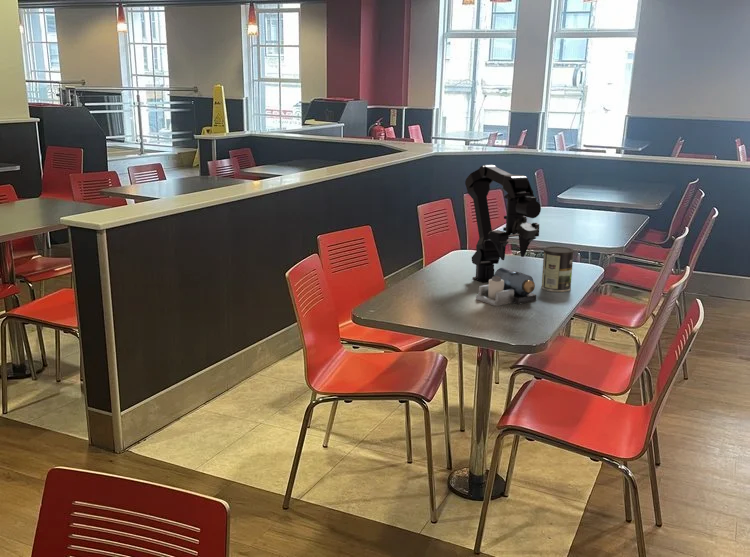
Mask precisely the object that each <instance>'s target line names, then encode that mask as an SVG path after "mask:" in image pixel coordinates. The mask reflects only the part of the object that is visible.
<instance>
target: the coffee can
mask: <svg viewBox="0 0 750 557" xmlns="http://www.w3.org/2000/svg"><path fill="white" fill-rule="evenodd" d="M574 253H575V250H574V249H572V248H570V247H565V246H546V247H544V248H543V257H542V258H543V260H542V276H541V289H542V290H544V291H548V292H553V293H564V292H565V293H566V292H569V291H571V289H572V288H571V287H572V276H573V274H572V273H573V262H574Z"/></svg>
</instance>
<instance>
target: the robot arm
mask: <svg viewBox="0 0 750 557" xmlns="http://www.w3.org/2000/svg"><path fill="white" fill-rule="evenodd" d="M464 182H465V183H464V184H465V187H466V191H467V194H468V195H469V196H470V197H471V199H472V200H473V207H474V213H475V219H476V226H477V231H478V241H477V244H476V247H475V249H476V250H475V252H474V253H473V255H472V256H471V262H472V264H473V265H476V266H475V276H473V277H472V278H471V279H472V280H476V281H478V282H481V283H489V279H492V277H494V274H495V264H496V265H499V262H500V260H501V261H505V259H506V251H507V250H506V249H507V247H506V246H507V245H508V244H509V241H508V240H509V238H513V237H518V243H519V245H518V246H519V253H520V257H522V258H524V257H525V256H526V252H527V250H528V248H529V246H530V244H531V242H533V240H536V239H537V237H540V223H539V222H537V221H536V222H531V223H528V221H527V220H528V218H530V219H535V218H537V217H538V216H539V215H540V213H541V211H542V207H541V204H540V203H539V201H537V197H536V196H535V195H534V190H533V189H532V185H531V183H530V181H529V178H528V177H527V176H526V175H523V174H512V173H510V172H508V171H505V170H504V169H501V168H498V167H497V166H496V165H494V164H483V165H481V166H479V168H478V169H475V171H473V172H471V173H470V174H469V175H468V176H467V177H466V179H465V181H464ZM493 182H495V183H496V184H499V185H501V186H502V189H503V190H504V191H505V192H506V193H507V194H505V195H504V199H506V200H507V203H506V214H505V215H503V219H504V220H505V227H502V229H503V230H499V229H497V230H493V228H492V222H491V216H490V209H489V204H488V198H487V197H488V195H489V192H490V190H491V189H490V188H491V187H490V185H491V184H492V183H493Z"/></svg>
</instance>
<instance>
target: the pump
mask: <svg viewBox="0 0 750 557" xmlns="http://www.w3.org/2000/svg"><path fill="white" fill-rule="evenodd" d="M488 284H489V287H488V298H491V299H493V300H495V298H496V292H498V291H503V290H504V280H502V279H501V277H498V276H494V277H492V279H489V282H488Z"/></svg>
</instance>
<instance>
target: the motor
mask: <svg viewBox="0 0 750 557" xmlns="http://www.w3.org/2000/svg"><path fill="white" fill-rule="evenodd" d="M494 276H498V277H501V279H502V280H504V290H503V291H498V292H496V298H495V300H493V299H491V298H488V287H489V283H488V284H484V285H479V286H478V294H476V295H475V299H476V300H478V301H480V302H483V303H486V304H488V305H491V306H493V307H499V306H504V305H509V304H512V302H515V303H514V304H516V303H517V304H516V305H521V304H520V303H522V304H526V303H530V302H535V300H536V301H537V294H534V293H532V292H534V290H535V288H536V284H535V282H534V281H535V280H534V278H533V276H531V275H529V274H525V273H522V272H520V271H519V272H518V271H515V270H513V269H509V268H505V267H499V268H498V269H496V271H494ZM508 303H509V304H508Z"/></svg>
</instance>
